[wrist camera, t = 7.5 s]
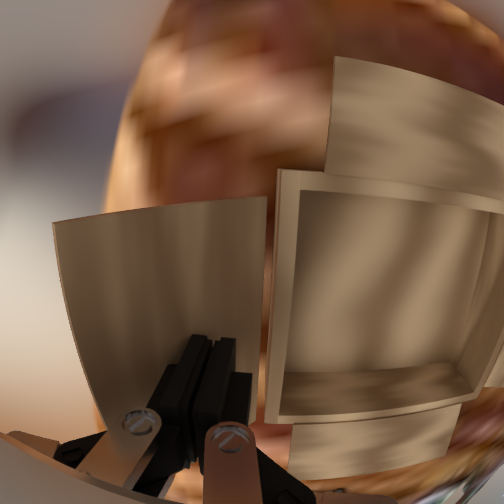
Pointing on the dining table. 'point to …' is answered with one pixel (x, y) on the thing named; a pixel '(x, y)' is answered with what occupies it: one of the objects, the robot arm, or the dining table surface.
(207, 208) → the flap
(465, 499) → the dining table surface
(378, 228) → the carton
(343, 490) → the coffee press
